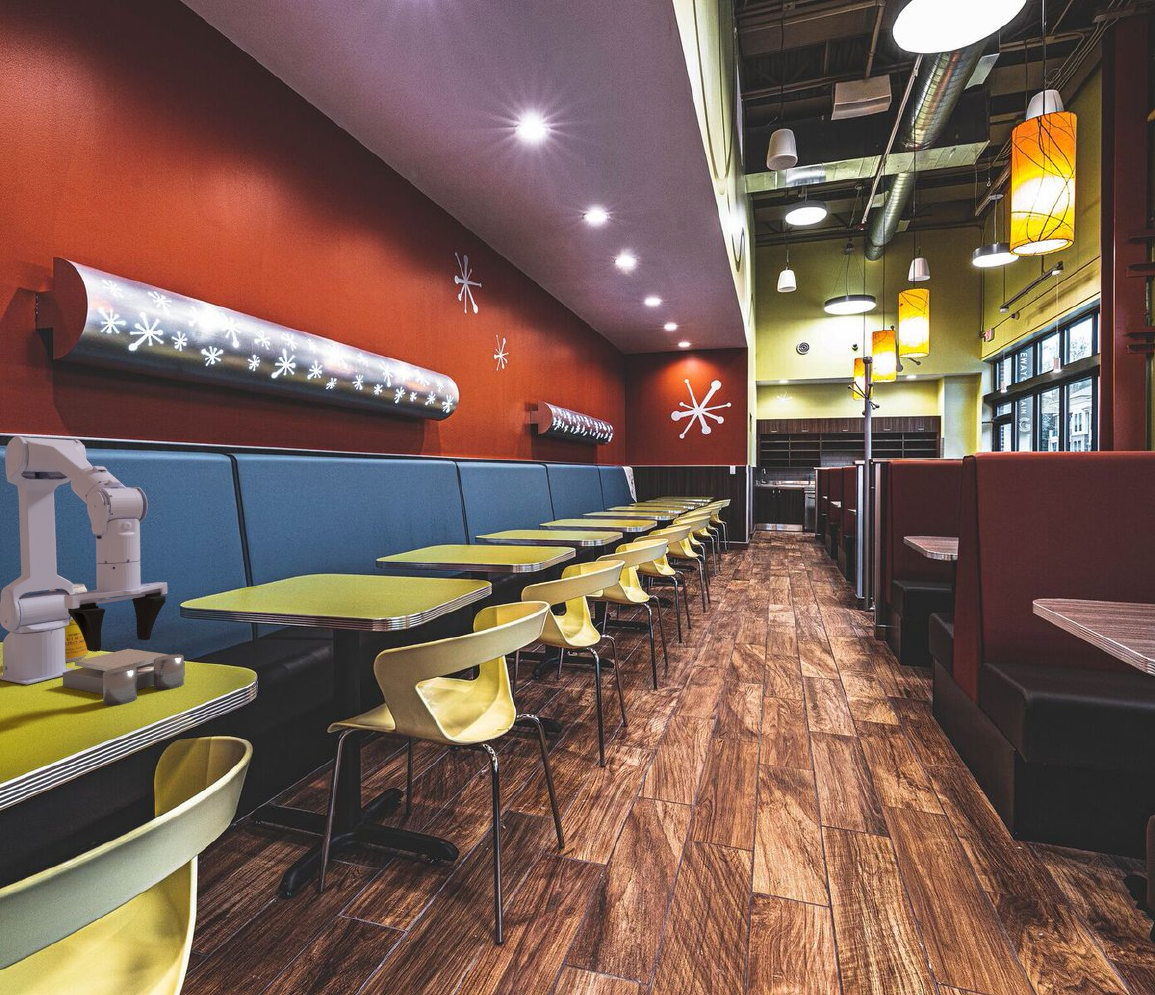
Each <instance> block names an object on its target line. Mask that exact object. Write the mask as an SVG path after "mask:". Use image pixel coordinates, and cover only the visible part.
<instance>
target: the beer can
mask: <svg viewBox="0 0 1155 995" xmlns="http://www.w3.org/2000/svg"><path fill="white" fill-rule="evenodd" d="M72 584H73V588H74V594H77V593H82V592H87V591H88V589H87V588H86V585H85V584H84V583H72ZM49 591H56V590H55V589H51V590H49ZM88 653H89V651H88V650H87V647H86V643H85V640H84V638H83V635H82V633H81V631H80V629H79V627H78V625H77V624H76V622H75V621H74V619H72V620H71V621H69V625H68V626H65V664H67V663H72V662H75V661H79V660H83V659H86V656H87V655H88Z"/></svg>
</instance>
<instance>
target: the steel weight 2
mask: <svg viewBox="0 0 1155 995" xmlns="http://www.w3.org/2000/svg"><path fill="white" fill-rule="evenodd" d="M184 659H185V658H184V654H168V655H165V656H161V657H157V658H155V659H154V660H153V661H154V685H153V690H155V691H168V690H173V689H177V688H178V689H179V688H180V687H183V686H184V685H185V676H184V661H185V660H184Z"/></svg>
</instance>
